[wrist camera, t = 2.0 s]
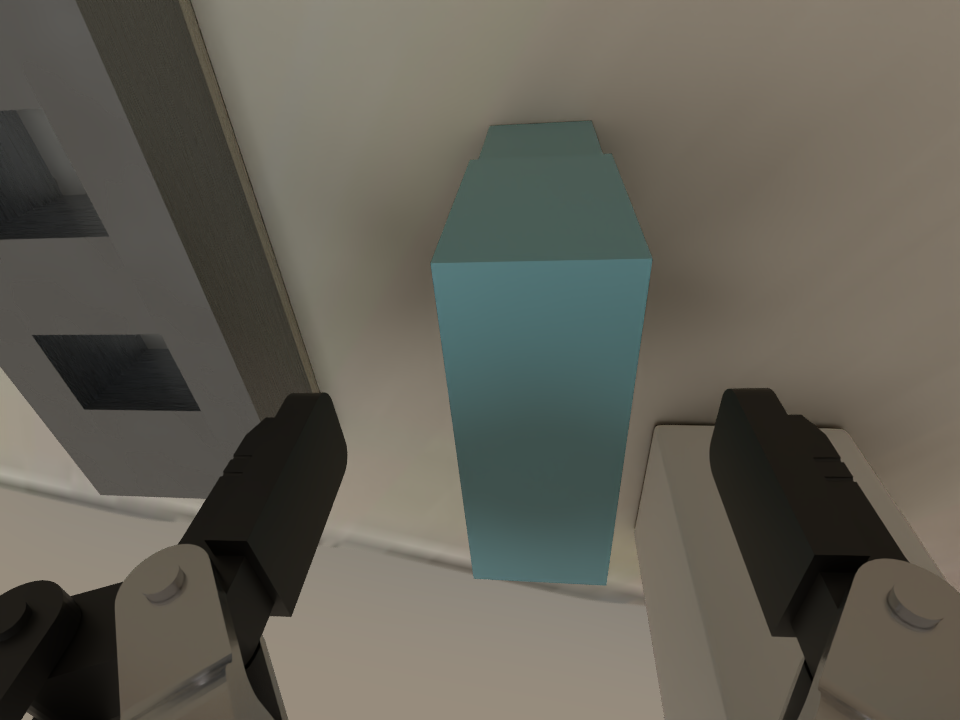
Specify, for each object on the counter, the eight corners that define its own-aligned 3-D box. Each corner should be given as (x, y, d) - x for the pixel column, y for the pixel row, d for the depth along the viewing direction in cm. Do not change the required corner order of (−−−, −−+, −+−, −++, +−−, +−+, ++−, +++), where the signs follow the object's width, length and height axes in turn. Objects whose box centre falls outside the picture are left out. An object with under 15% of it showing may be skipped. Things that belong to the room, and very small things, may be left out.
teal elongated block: (486, 118, 14) (430, 263, 7) (595, 112, 14) (652, 258, 7) (499, 351, 19) (473, 578, 12) (581, 351, 19) (606, 585, 12)
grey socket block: (-161, -114, 13) (-398, -143, 9) (139, -151, 12) (-12, -198, 8) (160, 423, 23) (100, 494, 20) (331, 426, 22) (295, 502, 19)
